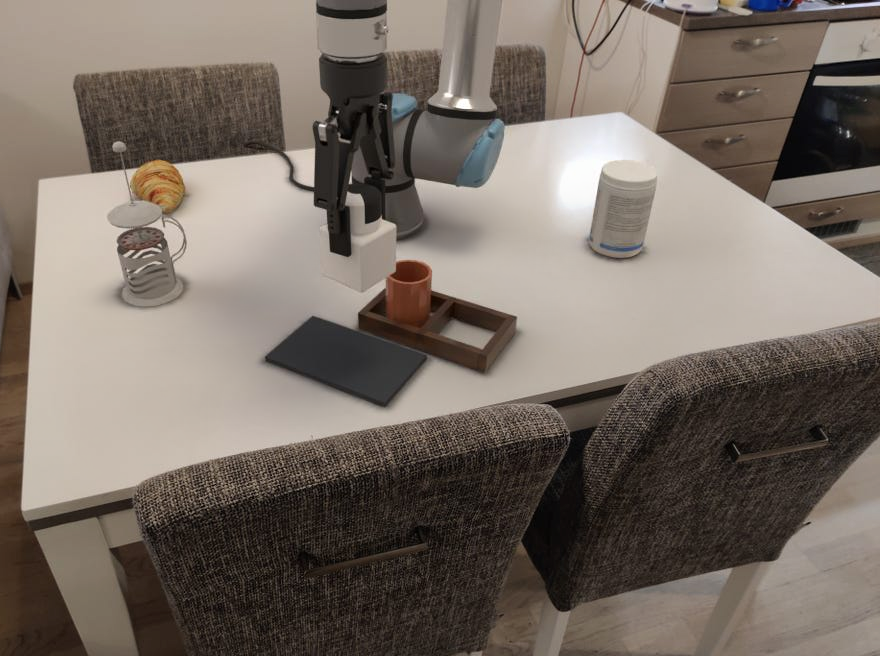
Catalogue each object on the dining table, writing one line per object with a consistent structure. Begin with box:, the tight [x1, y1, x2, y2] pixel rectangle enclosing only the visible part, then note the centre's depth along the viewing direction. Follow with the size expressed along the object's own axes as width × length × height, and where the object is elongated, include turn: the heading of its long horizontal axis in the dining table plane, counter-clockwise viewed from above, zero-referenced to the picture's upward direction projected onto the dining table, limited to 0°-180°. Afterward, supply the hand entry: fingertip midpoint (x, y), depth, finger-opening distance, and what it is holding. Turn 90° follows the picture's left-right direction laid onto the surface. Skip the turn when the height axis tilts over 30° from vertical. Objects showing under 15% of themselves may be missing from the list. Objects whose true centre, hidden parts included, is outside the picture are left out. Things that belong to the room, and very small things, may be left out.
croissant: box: [129, 158, 186, 213], centre depth 145 cm, size 21×10×8 cm, turn 26°
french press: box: [106, 140, 188, 308], centre depth 111 cm, size 10×12×25 cm
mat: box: [264, 315, 428, 408], centre depth 104 cm, size 20×12×1 cm, turn 61°
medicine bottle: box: [319, 183, 397, 294], centre depth 93 cm, size 7×7×12 cm
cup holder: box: [357, 286, 518, 373], centre depth 110 cm, size 21×11×3 cm, turn 61°
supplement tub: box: [588, 159, 659, 259], centre depth 127 cm, size 10×10×15 cm
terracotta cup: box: [385, 259, 433, 328], centre depth 110 cm, size 7×7×9 cm
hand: (358, 238), depth 93 cm, fingers closed on medicine bottle, 8 cm apart
